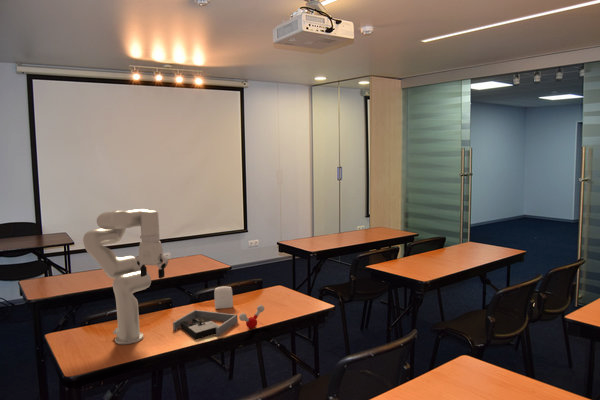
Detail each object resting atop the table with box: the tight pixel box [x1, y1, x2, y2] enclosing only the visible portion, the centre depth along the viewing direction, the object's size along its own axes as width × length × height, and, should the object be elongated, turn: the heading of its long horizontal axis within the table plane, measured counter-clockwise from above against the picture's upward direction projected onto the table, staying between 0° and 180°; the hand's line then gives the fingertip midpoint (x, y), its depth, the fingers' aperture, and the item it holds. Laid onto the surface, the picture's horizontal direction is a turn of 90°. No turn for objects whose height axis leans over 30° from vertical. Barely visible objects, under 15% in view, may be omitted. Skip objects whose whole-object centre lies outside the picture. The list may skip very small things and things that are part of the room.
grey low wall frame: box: [172, 309, 239, 337], centre depth 220 cm, size 26×19×4 cm
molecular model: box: [238, 304, 265, 330], centre depth 215 cm, size 18×6×10 cm, turn 154°
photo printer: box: [213, 285, 234, 310], centre depth 247 cm, size 10×4×12 cm, turn 99°
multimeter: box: [180, 316, 220, 341], centre depth 214 cm, size 13×19×5 cm
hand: (152, 276), depth 191 cm, fingers open, 9 cm apart
